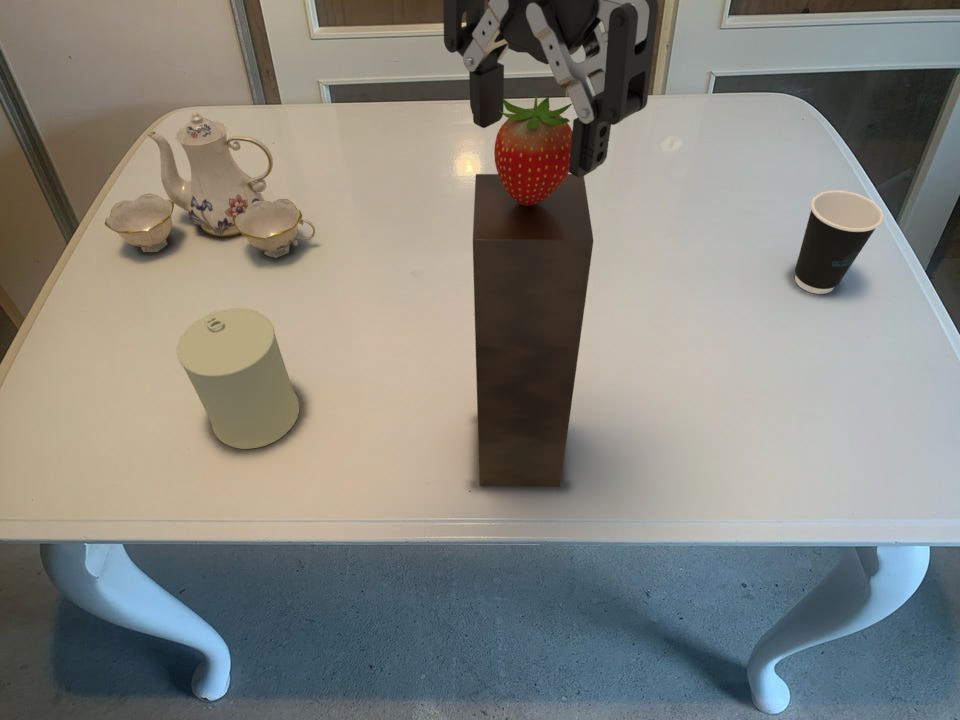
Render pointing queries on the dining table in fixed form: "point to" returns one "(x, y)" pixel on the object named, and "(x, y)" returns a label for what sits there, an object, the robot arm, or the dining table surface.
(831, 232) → the dixie cup
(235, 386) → the can
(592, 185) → the dining table surface
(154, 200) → the chinaware
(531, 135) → the fruit
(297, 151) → the dining table surface
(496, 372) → the plinth
